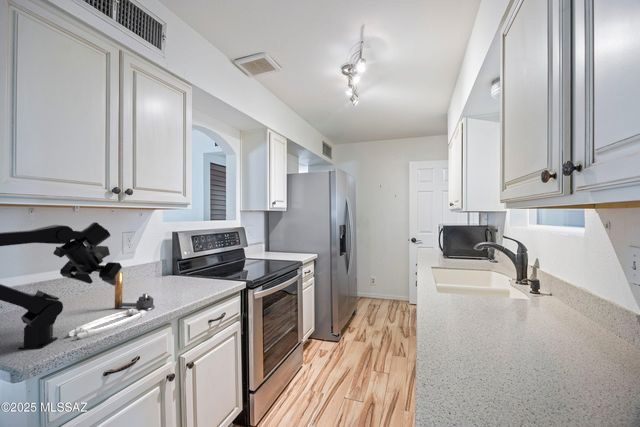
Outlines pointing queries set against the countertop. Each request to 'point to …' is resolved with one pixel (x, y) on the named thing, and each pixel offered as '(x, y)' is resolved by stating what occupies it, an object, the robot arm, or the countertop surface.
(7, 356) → the countertop surface
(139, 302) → the l-shaped piece
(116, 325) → the door handle
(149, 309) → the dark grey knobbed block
